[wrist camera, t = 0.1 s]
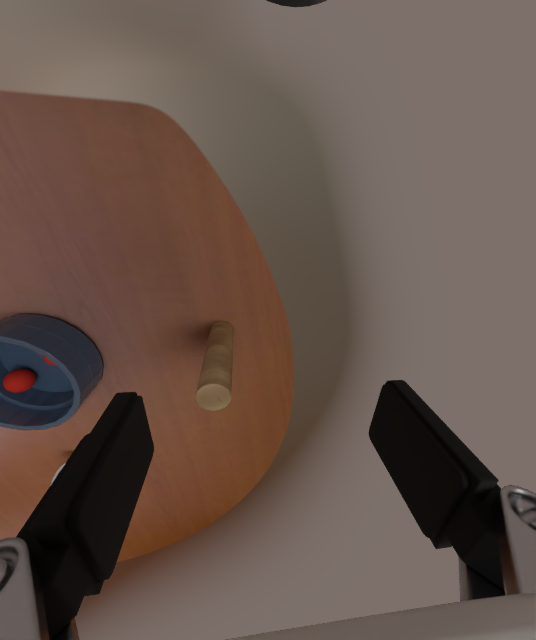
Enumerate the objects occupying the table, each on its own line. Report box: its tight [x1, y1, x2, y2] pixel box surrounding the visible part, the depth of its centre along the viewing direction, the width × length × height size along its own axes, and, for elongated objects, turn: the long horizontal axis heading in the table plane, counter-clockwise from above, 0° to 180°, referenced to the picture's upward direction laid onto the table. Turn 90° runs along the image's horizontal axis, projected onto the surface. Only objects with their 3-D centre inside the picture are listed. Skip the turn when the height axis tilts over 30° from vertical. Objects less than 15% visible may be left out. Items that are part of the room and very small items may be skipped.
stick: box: [195, 321, 234, 411], centre depth 28 cm, size 3×3×13 cm
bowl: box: [0, 314, 103, 430], centre depth 30 cm, size 13×13×6 cm
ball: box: [3, 369, 36, 393], centre depth 31 cm, size 3×3×3 cm
